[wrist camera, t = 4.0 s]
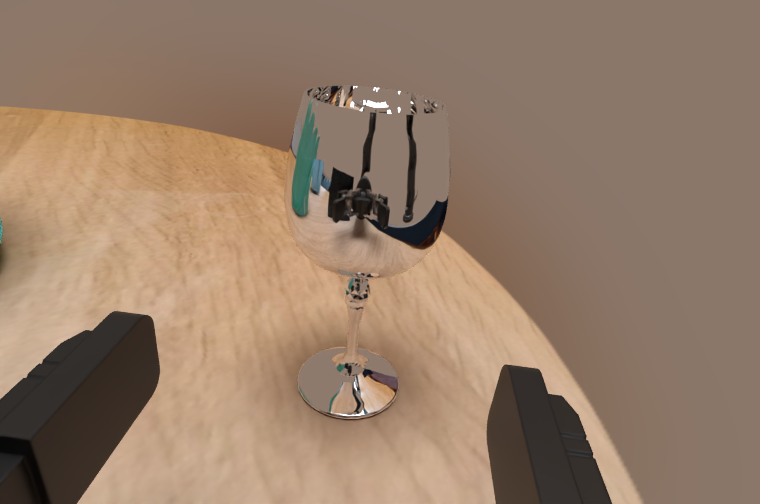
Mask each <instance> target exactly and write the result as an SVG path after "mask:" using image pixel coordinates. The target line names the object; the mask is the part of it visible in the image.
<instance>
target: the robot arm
mask: <svg viewBox="0 0 760 504" xmlns="http://www.w3.org/2000/svg"><path fill="white" fill-rule="evenodd" d="M159 374H160V365H159V358H158V351H157V343H156V336H155V329H154V322H153V319H152V318H151V317H150V316H148V315H142V314H134V313H127V312H119V311H114V312H112V313H110V314H109V315H108V316H107V317H106V318H105V319H104V320H103V321H102V322H101V323H100V324H99V325H98V326H97V327H96V328H95V329H94V330H93V331H89V330H85V331H83V332H81V333H79V334H77V335H76V336H74V337H72V338H70V339H68V340H66V341H64V342H62V343H61V344H60V345H59V346H58V347H56V348H55V349H54V350H53V351H52V352H51V353H50V354H49V355H48V356H47V357H46V358H45V359H43V362H42V364H38V365H37V366H36V367H35V368H34V369H33V370H32V371H31V372H29V373H28V376H27V378H23V379H22V380H21V381H20V382H19V383H18V384H17V385H15V386H14V387H13V388H12V389H11V390H10V391H9V392H8V393H7V394H6V395H5V396H4V397H2V398H1V399H0V504H77V503H78V501H79V500H80V498H81V497H82V495H83V494H84V493H85V491H86V490H87V488H88V487H89V485H90V484H91V483H92V481H93V480H94V478H95V477H96V475H97V474H98V472H99V471H100V470H101V468H102V467H103V465H104V464H105V462H106V461H107V460H108V458H109V457H110V455H111V454H112V452H113V451H114V450H115V448H116V447H117V445H118V444H119V442H120V441H121V440H122V438H123V437H124V435H125V434H126V432H127V431H128V430H129V428H130V427H131V425H132V424H133V422H134V421H135V420H136V418H137V417H138V415H139V414H140V412H141V411H142V410H143V408H144V407H145V405H146V404H147V402H148V401H149V400H150V398H151V397H152V395H153V393H154V391H155V389H156V387H157V384H158V380H159ZM487 446H488V452H489V459H490V466H491V473H492V479H493V486H494V493H495V500H496V504H612V502H611V499H610V497H609V494H608V492H607V489H606V486H605V484H604V481H603V478H602V476H601V473H600V471H599V468H598V465H597V463H596V460H595V458H593V452H592V450H591V447H590V444H589V442H588V440H586V434H585V431H584V429H583V426H582V423H581V421H580V418H579V415H578V414H577V413H576V412H575V411H574V409H573V408H572V407H571V406H570V405H569V404H568V402H567V401H566V400H565V399H564V398H563V397H562V396H559V395H552V394H548V392H547V389H546V386H545V383H544V380H543V377H542V374H541V372H540V370H539V369H535V368H528V367H520V366H513V365H504V366H503V367H502V370H501V373H500V376H499V380H498V383H497V387H496V390H495V394H494V397H493V401H492V404H491V408H490V411H489V415H488V421H487Z"/></svg>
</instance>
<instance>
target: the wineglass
mask: <svg viewBox="0 0 760 504" xmlns="http://www.w3.org/2000/svg"><path fill="white" fill-rule="evenodd" d="M449 181H450V145H449V127H448V117H447V107H446V106H445V105H444V104H443V103H442V102H440V101H437V100H435V99H432V98H429V97H426V96H422V95H418V94H414V93H409V92H403V91H398V90H391V89H384V88H375V87H365V86H346V85H345V86H344V85H343V86H341V85H339V86H338V85H334V86H318V87H313V88H309V89H307V90H305V92H304V95H303V98H302V102H301V105H300V108H299V111H298V114H297V118H296V122H295V127H294V131H293V135H292V139H291V144H290V149H289V154H288V159H287V166H286V173H285V189H284V202H285V210H286V218H287V223H288V227H289V230H290V233H291V236H292V237H293V239H294V241H295V243H296V244H297V246H298V248H299V249H300V250H301V251H302V252H303V254H304V255H305V256H306V257H307V258H308V259H309V260H310V261H312V262H313V263H314V264H316V265H317V266H319V267H321V268H323V269H325V270H327V271H329V272H331V273H334V274H336V275H340V276H344V277H348V278H349V279H348V280H347V283H346V287H345V291H344V296H345V303H346V305H347V310H348V337H347V346H340V347H333V348H328V349H325V350H322V351H320V352H317V353H316V354H314V355H312V356H311V357H310V358H308V359H307V360H306V361H305V362H304V364H303V365H302V366H301V368H300V370H299V373H298V377H297V384H298V389H299V392H300V394H301V396H302V397H303V399H304V400H305V401H306V402H307V403H308V404H309V405H310V406H311V407H313V408H314V409H316V410H317V411H319V412H321V413H323V414H326V415H329V416H332V417H336V418H342V419H360V418H366V417H370V416H373V415H375V414H378V413H380V412H382V411H383V410H385V409H386V408H388V407H389V406H390V405H391V404H392V403H393V401H394V400H395V398H396V397H397V394H398V391H399V378H398V375H397V373H396V371H395V369H394V368H393V366H392V365H391V364H390V363H389V362H388V361H387V360H386V359H385V358H383V357H382V356H380V355H378V354H377V353H375V352H372V351H370V350H367V349H363V348H359V347H357V344H358V335H359V326H360V322H361V318H362V314H363V311H364V307H365V306H366V304H367V302H368V298H369V295H370V284H369V281H368V279H370V280H373V279H383V278H387V277H392V276H395V275H398V274H401V273H403V272H406V271H408V270H409V269H411V268H413V267H414V266H415V265H417V264H418V263H419V262H421V261H422V260H423V259H424V258H425V257H426V255H427V254H428V253H429V252H430V251H431V250H432V248H433V247H434V245H435V243H436V241H437V239H438V237H439V234H440V232H441V229H442V226H443V223H444V219H445V215H446V210H447V204H448V194H449Z"/></svg>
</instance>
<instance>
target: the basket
mask: <svg viewBox="0 0 760 504" xmlns="http://www.w3.org/2000/svg"><path fill="white" fill-rule="evenodd" d="M2 233H3V227H2V221H1V218H0V244H1V241H2Z"/></svg>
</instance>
